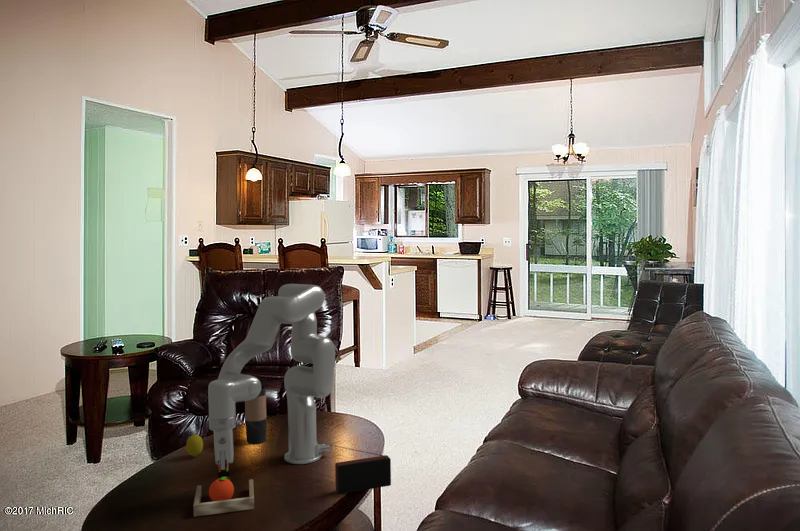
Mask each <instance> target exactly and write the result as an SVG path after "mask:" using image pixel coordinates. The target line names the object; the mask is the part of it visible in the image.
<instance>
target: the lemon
mask: <svg viewBox="0 0 800 531" xmlns="http://www.w3.org/2000/svg"><path fill="white" fill-rule="evenodd" d="M185 444H186V445H185V448H186V452H187V453H188V455H191V456H192V457H194V458H196V457H197V456H198V455H200V454H201V453H202V451H203V449H204V442H203V439H202V437H201V436H200V435H198V434H196V433H193V434H192V435H190V436H189V437H188V439H187V440H186V443H185Z"/></svg>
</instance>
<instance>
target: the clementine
mask: <svg viewBox="0 0 800 531" xmlns="http://www.w3.org/2000/svg"><path fill="white" fill-rule="evenodd" d="M226 478H228V479H229V477H221V478H219V479H218V478H216V479H215V480H214V481H213V482H212V483H211V484H210V486H209V489H208V496H209V499H210V500H211V502H213V501H221V500H229V499H232V498H233V496H234V491H235V486H234V484H233V482H232V481H231V479H230V480H228V479H226Z"/></svg>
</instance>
